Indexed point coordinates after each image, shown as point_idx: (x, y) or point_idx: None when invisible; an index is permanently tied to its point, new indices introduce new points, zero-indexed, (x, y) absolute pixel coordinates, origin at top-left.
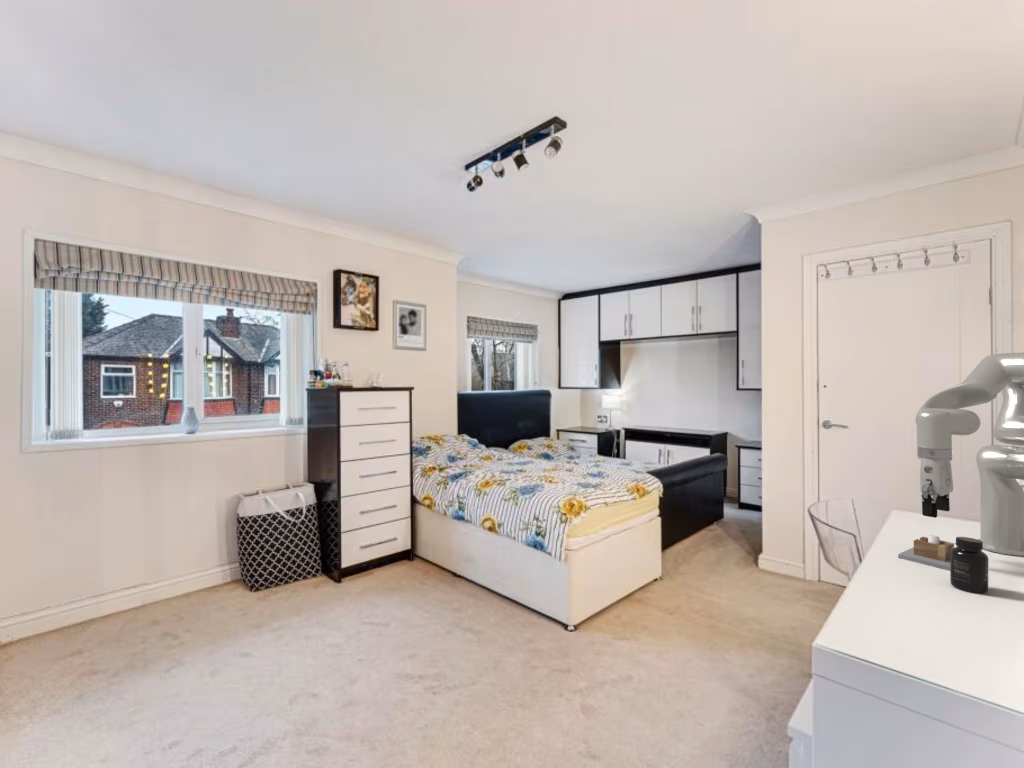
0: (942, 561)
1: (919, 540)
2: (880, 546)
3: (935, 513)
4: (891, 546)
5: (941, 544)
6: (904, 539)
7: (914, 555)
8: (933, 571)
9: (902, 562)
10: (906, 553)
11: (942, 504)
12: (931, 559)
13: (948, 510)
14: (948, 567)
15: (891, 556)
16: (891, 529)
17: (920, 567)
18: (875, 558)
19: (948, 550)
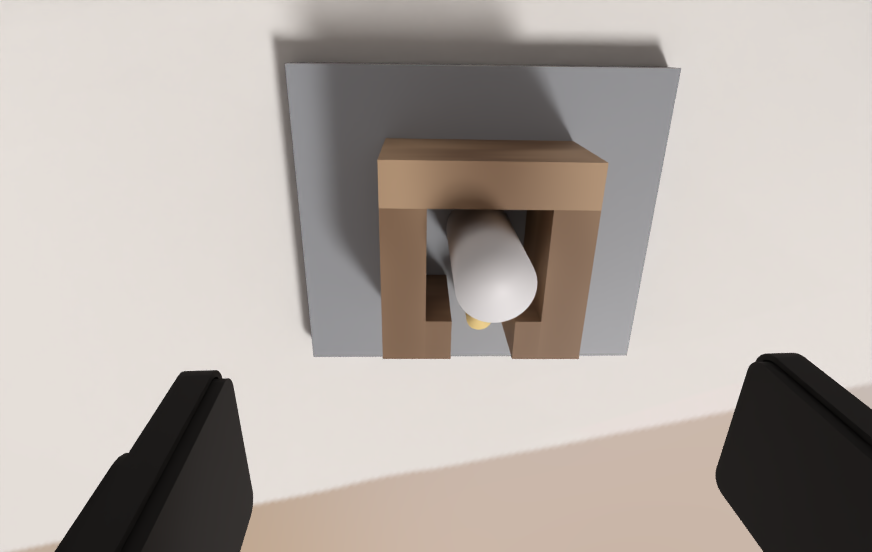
0: None
1: (539, 337)
2: (458, 459)
3: (830, 398)
4: (401, 432)
5: (527, 207)
6: None
7: None
8: (767, 141)
9: (703, 301)
10: None
11: (208, 514)
12: None
13: (211, 378)
14: (674, 92)
15: (622, 369)
16: (10, 543)
17: (734, 213)
18: (734, 399)
19: (511, 153)
